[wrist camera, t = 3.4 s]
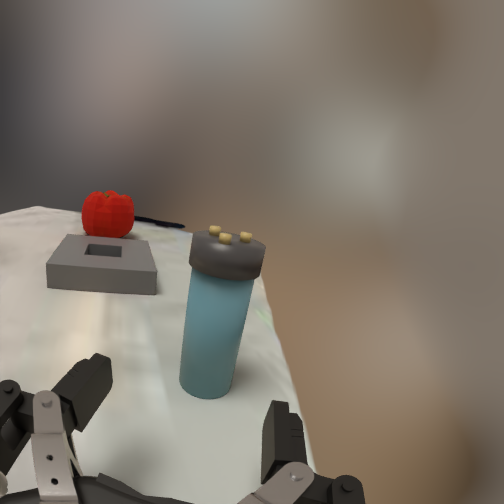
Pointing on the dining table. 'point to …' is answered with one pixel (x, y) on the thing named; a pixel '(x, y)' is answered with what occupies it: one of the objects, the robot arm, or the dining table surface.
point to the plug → (217, 308)
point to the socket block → (102, 265)
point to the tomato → (107, 214)
